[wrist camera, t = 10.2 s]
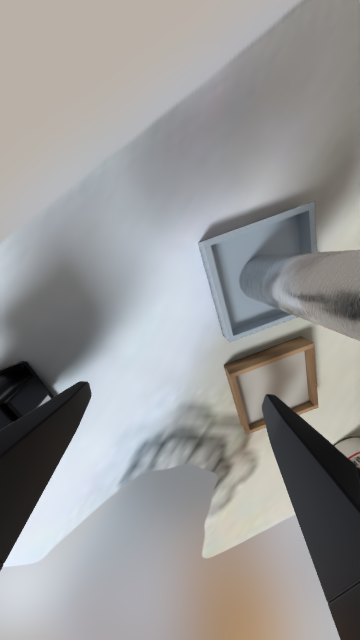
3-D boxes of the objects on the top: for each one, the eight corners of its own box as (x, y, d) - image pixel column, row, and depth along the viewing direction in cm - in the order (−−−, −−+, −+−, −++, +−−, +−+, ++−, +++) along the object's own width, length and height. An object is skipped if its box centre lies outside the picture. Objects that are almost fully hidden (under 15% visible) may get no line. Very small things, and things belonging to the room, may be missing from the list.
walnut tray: (240, 422, 27) (246, 434, 25) (223, 365, 23) (229, 374, 22) (307, 397, 27) (318, 407, 26) (301, 336, 24) (313, 343, 22)
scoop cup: (256, 307, 21) (380, 363, 9) (230, 279, 19) (339, 307, 8) (287, 276, 20) (463, 296, 9) (263, 245, 18) (435, 219, 7)
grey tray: (223, 335, 22) (229, 342, 20) (198, 243, 18) (203, 241, 16) (305, 304, 22) (319, 308, 20) (298, 207, 18) (314, 201, 16)
